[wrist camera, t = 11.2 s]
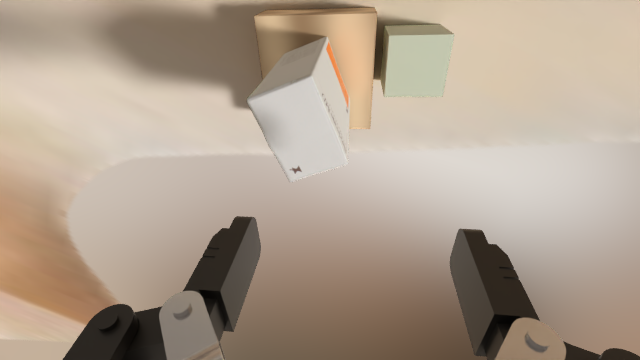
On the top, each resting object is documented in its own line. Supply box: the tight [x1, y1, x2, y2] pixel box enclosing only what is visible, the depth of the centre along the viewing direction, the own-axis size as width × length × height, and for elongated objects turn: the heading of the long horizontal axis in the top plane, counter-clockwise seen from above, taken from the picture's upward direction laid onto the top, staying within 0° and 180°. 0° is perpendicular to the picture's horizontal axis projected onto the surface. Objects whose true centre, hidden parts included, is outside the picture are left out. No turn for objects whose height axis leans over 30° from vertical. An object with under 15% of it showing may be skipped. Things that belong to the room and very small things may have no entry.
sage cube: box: [380, 24, 454, 97], centre depth 28 cm, size 5×5×5 cm
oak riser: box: [254, 8, 377, 129], centre depth 30 cm, size 10×10×4 cm
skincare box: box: [247, 37, 350, 182], centre depth 23 cm, size 6×4×12 cm
